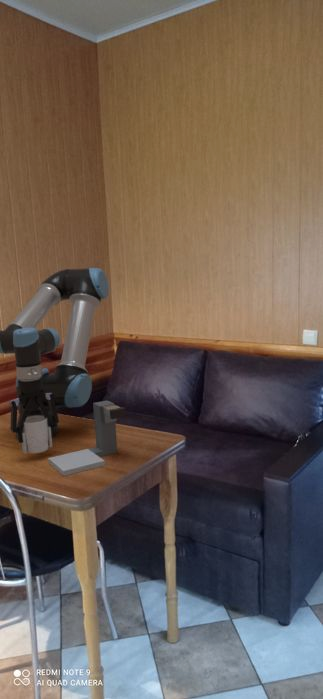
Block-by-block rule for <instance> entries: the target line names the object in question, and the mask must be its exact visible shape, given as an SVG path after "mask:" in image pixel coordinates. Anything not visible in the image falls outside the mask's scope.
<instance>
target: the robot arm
mask: <svg viewBox="0 0 323 699" xmlns="http://www.w3.org/2000/svg"><path fill="white" fill-rule="evenodd" d="M108 296H109V283H108V278H107V276H106V274H105V272H104V271H103V269H101V268H99V267H88V268H66V269H61V270H59V271H57V272H55V273H53V274H52V275H50V276H49V277H47V278H46V279H44V281H43V282H41V284H40V285H38V287H37V289H36V293H35V295H34V296H33V297H32V298H31V299H30V300H29V302H28V303H27V304H26V305H25V306H24V307H23V308H22V309H21V310H20V311H19V313H18V314H17V315H16V316H15V317H14V319H13V320H12V321H11V322H10V323H9V324H8V325H7V327H6V328H5V329H4V330H0V354H4V355H6V354H11V355H12V354H14V358H15V365H16V366H15V369H16V378H15V390H16V397H17V398H15V399H10V400H9V405H10V407H11V408H10V428H9V429H10V431H11V432H12V433H13V434H15V437H16V438H17V441H18V443H19V444H21V451H22V452H23V453H24V454H28V452H27V446H26V437H25V432H23V428H24V423H25V421H26V418H27V417H30V416H44V418H45V419H46V418H47V424H48V448H52V447H53V439H52V436H55V435H56V434H58V433H59V421H60V420H59V415H58V413H57V408H56V407H60V408H62V407H65V408H80V407H83V406H84V405H85V404H87V402H88V400H89V399H90V396H91V394H92V389H93V385H92V382H93V381H92V378H91V376H90V375H89V374H88V373H89V371H88V370H87V369H86V367H85V366H86V361H87V356H88V352H89V351H88V349H89V345H90V339H91V334H92V327H93V322H94V317H95V311H96V309H97V308H99V307H100V305H101V300H104V299H107V298H108ZM68 300H69V302H70V303H71V304H72V305H71V309H70V314H69V320H68V325H67V328H66V334H65V339H64V346H63V350H62V354H61V360H60V362H59V363H58V364H56V365H55V367H54V373H53V372H52V373H50V370H49V369H48V368H43V367H42V361H41V356H43V355H46V354H49V353H51V352H53V351H54V350H57V349H58V348H59V346H60V344H61V338H60V335H59V333H58V332H57V331H56V329H54V328H43V329H40V330H38V329H37V327H38V325H39V324H40V323H41V322H42V321H43V319H44V318H45V317H46V315H47V314H48V313H49V312H50V311H51V309H52V308H53V307H54V306H55V307H56V306H57V305H59V304H60V303H61V302H63V301H68Z"/></svg>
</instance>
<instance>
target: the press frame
mask: <svg viewBox="0 0 323 699" xmlns="http://www.w3.org/2000/svg"><path fill="white" fill-rule="evenodd" d="M110 404H114V405H115V403H114V402H112V401H110V400H104V401H103V400H102V401H97V402H93V403H92V408H93V419H94V420H93V421H94V432H95V433H94V434H95V435H94V436H95V446H94V447H91V448H85V449H81V450H77V451H73V452H69V453H64V454H61V455H56V456H51V457H48V464H50V465H51V466H52V467H53V468H54V469H55V470H56V471H57V472H58V473H60V475H61V476H63V477H65V476H69V475H74V474H77V473H81V472H85V471H88V470H93V469H96V468H101V467H105V466H106V460H104V459H103V458H101V457H103V456H107V455H111V454H116V453H118V442H117V440H118V438H117V428H116V426H117V425H116V421H114V422H109V423H104V422H103V421H102V408H101V406H105V405H110Z"/></svg>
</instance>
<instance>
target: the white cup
mask: <svg viewBox="0 0 323 699" xmlns="http://www.w3.org/2000/svg"><path fill="white" fill-rule="evenodd" d="M23 432H25V437H26V446H27V453H29V454H39V453H40V454H41V453H43V452H45V451H47V450H48V449H49V446H48V424H47V418H46V419H45V418H44V416H30V417H27V418H26V421H25V423H24V428H23Z"/></svg>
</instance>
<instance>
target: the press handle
mask: <svg viewBox="0 0 323 699" xmlns="http://www.w3.org/2000/svg"><path fill="white" fill-rule="evenodd" d="M101 408H102V421H103V422H104V423H109V422H114V421H115V422H117V421H118V419H121V418H126V416H127V414H126V407H123V406H121V407H120V406H119V405H117V404H115V403H114V404H110V405H105V406H101Z"/></svg>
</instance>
